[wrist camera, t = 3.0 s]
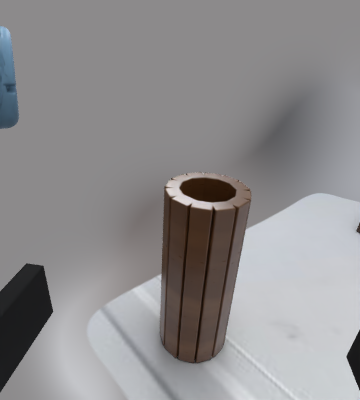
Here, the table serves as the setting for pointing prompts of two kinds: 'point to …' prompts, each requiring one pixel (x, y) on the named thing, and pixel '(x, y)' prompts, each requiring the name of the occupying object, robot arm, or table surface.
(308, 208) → the table surface
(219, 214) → the brown wooden hollow cylinder
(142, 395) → the table surface
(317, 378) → the table surface
